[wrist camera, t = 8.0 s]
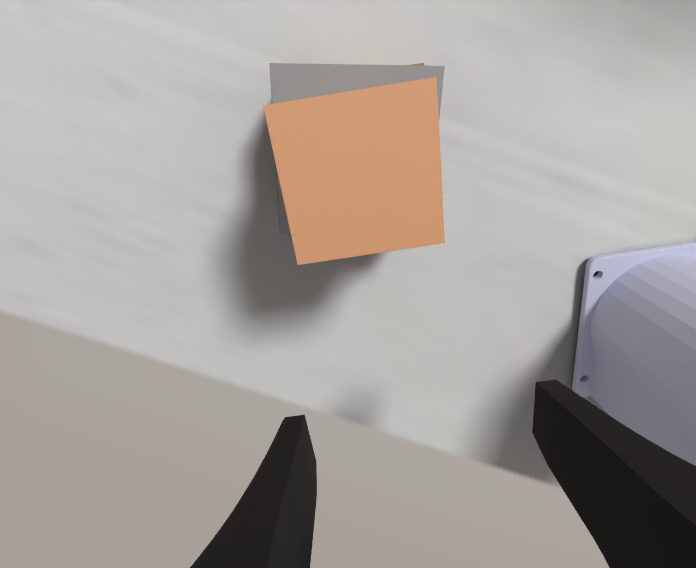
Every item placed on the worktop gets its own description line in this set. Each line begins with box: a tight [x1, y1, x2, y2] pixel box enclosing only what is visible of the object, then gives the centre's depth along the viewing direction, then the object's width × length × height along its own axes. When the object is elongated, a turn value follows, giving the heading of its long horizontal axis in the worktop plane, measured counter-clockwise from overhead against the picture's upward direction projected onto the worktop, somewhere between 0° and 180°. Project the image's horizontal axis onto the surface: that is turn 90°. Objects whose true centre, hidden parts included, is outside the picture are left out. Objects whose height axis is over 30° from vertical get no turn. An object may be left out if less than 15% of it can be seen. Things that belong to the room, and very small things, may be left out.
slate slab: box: [269, 63, 444, 233], centre depth 16 cm, size 6×6×2 cm
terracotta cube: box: [263, 77, 444, 265], centre depth 13 cm, size 4×4×4 cm
